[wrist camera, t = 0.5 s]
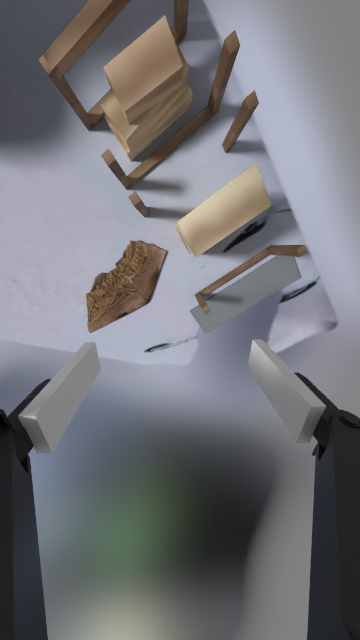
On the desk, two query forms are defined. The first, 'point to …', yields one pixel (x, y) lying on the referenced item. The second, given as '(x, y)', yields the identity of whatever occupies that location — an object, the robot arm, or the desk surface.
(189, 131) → the rack
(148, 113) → the offcut
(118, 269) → the wooden fragment
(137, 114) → the offcut
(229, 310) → the felt mat
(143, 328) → the desk surface
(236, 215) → the pale wooden block
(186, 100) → the offcut
